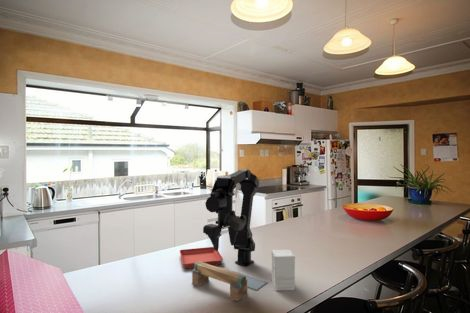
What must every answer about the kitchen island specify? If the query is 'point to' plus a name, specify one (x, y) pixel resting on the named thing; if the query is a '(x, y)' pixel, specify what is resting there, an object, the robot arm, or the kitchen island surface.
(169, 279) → the kitchen island surface
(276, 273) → the supplement box
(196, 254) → the plant saucer
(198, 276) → the post
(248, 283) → the mat
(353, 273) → the kitchen island surface
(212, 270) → the rail
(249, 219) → the robot arm
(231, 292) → the post
